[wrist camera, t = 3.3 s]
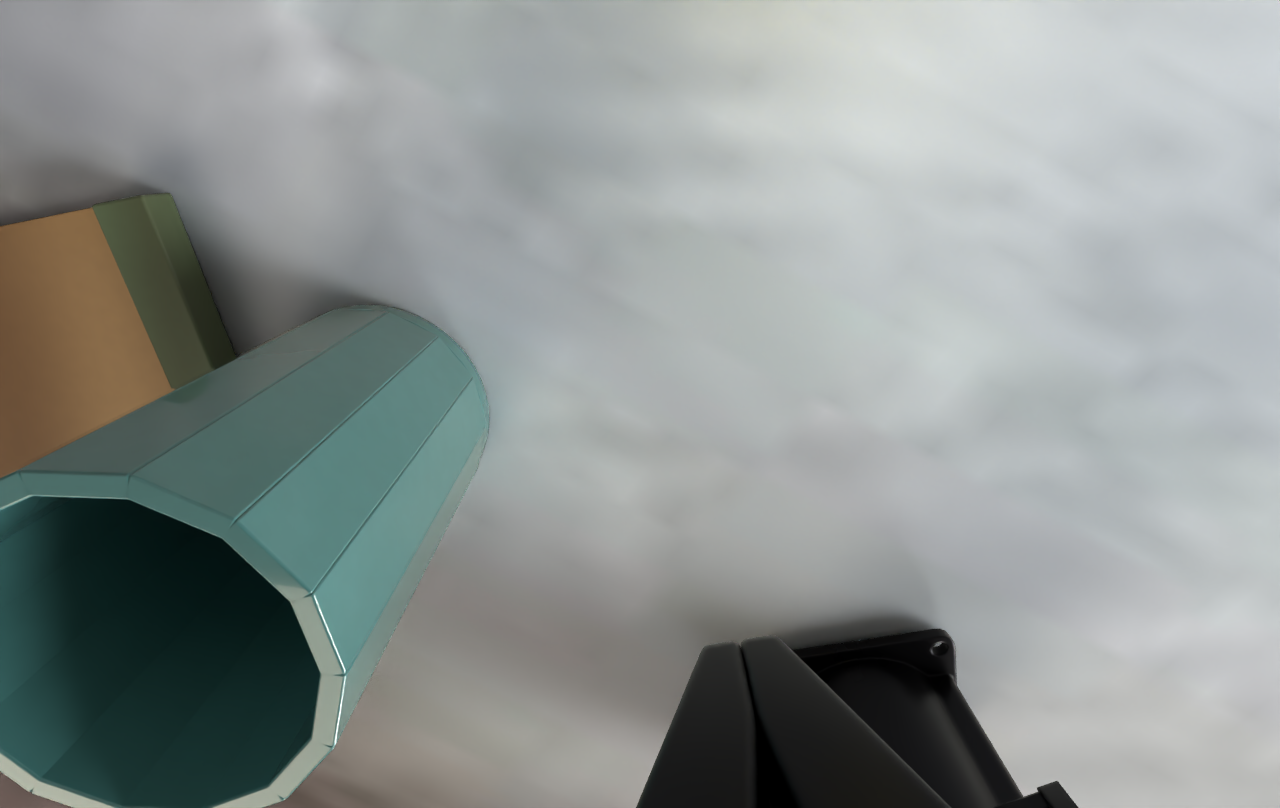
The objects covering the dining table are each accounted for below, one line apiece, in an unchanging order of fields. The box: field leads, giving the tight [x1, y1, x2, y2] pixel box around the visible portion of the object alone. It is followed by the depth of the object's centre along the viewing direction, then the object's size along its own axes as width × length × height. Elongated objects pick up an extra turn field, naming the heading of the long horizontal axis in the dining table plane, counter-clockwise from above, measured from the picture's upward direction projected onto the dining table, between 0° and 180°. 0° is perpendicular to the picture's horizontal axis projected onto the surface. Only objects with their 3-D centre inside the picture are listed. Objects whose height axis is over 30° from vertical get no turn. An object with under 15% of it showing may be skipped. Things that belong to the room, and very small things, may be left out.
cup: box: [0, 305, 489, 808], centre depth 15 cm, size 6×6×11 cm
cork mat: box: [0, 193, 236, 475], centre depth 21 cm, size 13×14×1 cm
